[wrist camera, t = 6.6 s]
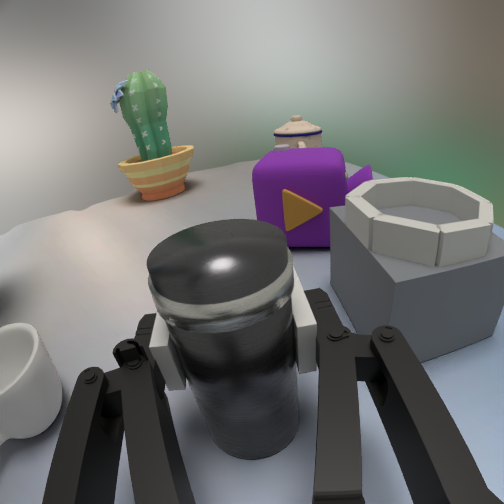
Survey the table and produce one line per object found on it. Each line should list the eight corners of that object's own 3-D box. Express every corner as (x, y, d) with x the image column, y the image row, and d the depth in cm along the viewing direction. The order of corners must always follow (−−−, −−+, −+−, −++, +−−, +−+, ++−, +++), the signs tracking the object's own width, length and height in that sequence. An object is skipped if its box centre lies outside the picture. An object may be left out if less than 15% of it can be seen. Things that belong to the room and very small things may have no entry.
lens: (208, 465, 14) (126, 298, 9) (208, 393, 19) (157, 229, 14) (309, 452, 14) (307, 271, 9) (292, 381, 19) (277, 210, 14)
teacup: (23, 370, 21) (-8, 321, 18) (90, 379, 20) (58, 323, 18) (-25, 460, 12) (-73, 412, 9) (44, 493, 11) (-15, 446, 9)
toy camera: (389, 249, 32) (392, 154, 27) (259, 260, 33) (246, 163, 28) (364, 212, 41) (363, 137, 36) (262, 220, 43) (253, 145, 38)
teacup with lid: (277, 171, 65) (271, 116, 60) (321, 168, 64) (316, 112, 59) (279, 188, 54) (272, 120, 49) (331, 183, 54) (327, 116, 48)
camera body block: (378, 375, 18) (399, 246, 14) (330, 283, 28) (328, 182, 23) (492, 335, 18) (525, 222, 14) (425, 264, 28) (434, 173, 24)
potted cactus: (146, 186, 70) (126, 81, 59) (209, 177, 68) (191, 64, 56) (113, 210, 57) (86, 83, 45) (187, 201, 54) (163, 58, 43)
